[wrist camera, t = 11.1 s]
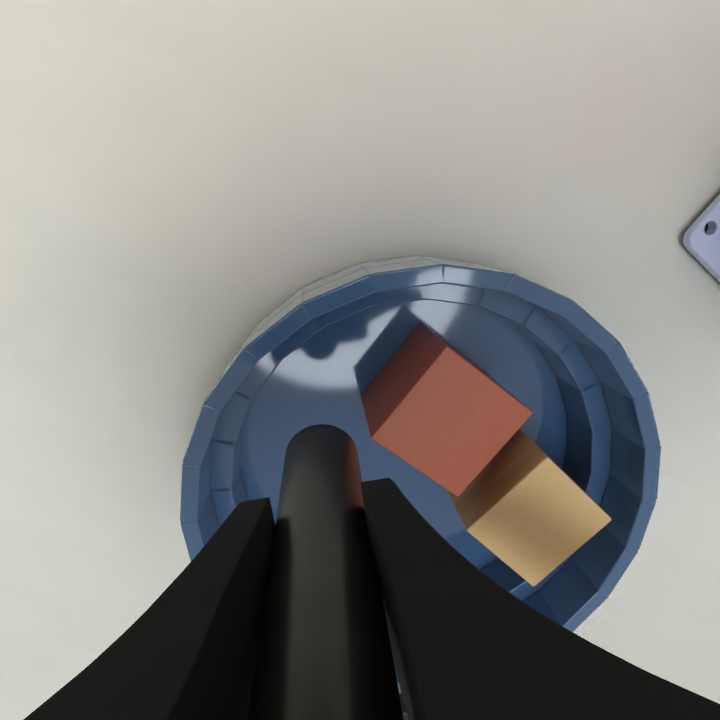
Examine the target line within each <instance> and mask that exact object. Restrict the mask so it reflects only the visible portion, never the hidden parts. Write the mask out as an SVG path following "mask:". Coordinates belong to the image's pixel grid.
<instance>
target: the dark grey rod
mask: <svg viewBox="0 0 720 720" xmlns="http://www.w3.org/2000/svg"><path fill="white" fill-rule="evenodd" d="M361 482H363V481H362V475H361V470H360V464H359V458H358V452H357V448H356V445H355V443H354V441H353V439H352V438H351V437H350V436H349V435H348V434H347V433H346V432H345V431H344V430H342V429H340V428H338V427H336V426H332V425H327V424H317V425H312V426H309V427H306V428H304V429H302V430H301V431H299V432H298V433H297V434H295V435H294V437H293V438H292V439H291V440H290V442H289V444H288V446H287V449H286V453H285V459H284V466H283V474H282V481H281V488H280V495H279V502H278V509H277V516H276V523H275V530H274V538H273V545H272V552H271V559H270V565H269V572H268V579H267V586H266V593H265V600H264V607H263V614H262V621H261V629H260V636H259V643H258V650H257V657H256V664H255V671H254V678H253V685H252V692H251V699H250V706H249V713H248V720H404V718H403V712H402V706H401V701H400V695H399V689H398V683H397V678H396V672H395V666H394V660H393V654H392V649H391V643H390V637H389V631H388V626H387V620H386V614H385V608H384V602H383V597H382V591H381V585H380V580H379V575H378V571H377V567H376V563H375V559H374V555H373V551H372V548H371V544H370V540H369V534H368V528H367V521H366V515H365V509H364V502H363V496H362V489H361Z"/></svg>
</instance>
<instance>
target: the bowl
mask: <svg viewBox="0 0 720 720" xmlns="http://www.w3.org/2000/svg"><path fill="white" fill-rule="evenodd" d="M420 322H422V323H424V324H425V325H426V326H428V327H429V328H430V329H431V330H433V331H434V332H435V333H437V334H438V335H439V336H440V337H442V338H443V339H444V340H446V341H447V342H448V343H449V344H451V345H452V346H453V347H454V348H456V349H457V350H458V351H460V352H461V353H462V354H463V355H465V356H466V357H467V358H469V359H470V360H471V361H472V362H474V363H475V364H476V365H477V366H479V367H480V368H481V369H483V370H484V371H485V372H486V373H488V374H489V375H490V376H492V377H493V378H494V379H495V380H496V381H497V382H498V383H500V384H501V385H502V386H503V387H504V388H505V389H506V390H508V391H509V392H510V393H511V394H512V395H513V396H515V397H516V398H517V399H518V400H519V401H520V402H521V403H523V404H524V405H525V406H526V407H527V408H528V409H530V410H531V411H532V415H531V416H530V417H529V418H528V419H527V420H526V421H525V423H524V424H523V425H522V426H521V427H520V429H521V430H522V431H523V432H524V433H525V434H526V435H527V436H528V437H529V438H531V439H532V440H533V441H534V442H535V443H536V444H537V445H538V446H539V447H540V448H541V449H542V450H543V451H544V452H545V453H546V454H547V455H548V456H549V457H550V458H551V459H552V460H553V461H554V462H555V463H556V464H557V465H558V466H559V467H560V468H561V469H562V470H563V471H564V472H565V473H566V474H567V475H568V476H569V477H570V478H571V479H572V480H573V481H574V482H575V483H576V484H577V485H578V486H579V487H580V488H581V489H582V490H583V491H584V492H585V493H586V494H587V495H588V496H589V497H590V498H591V499H592V500H594V501H595V502H596V503H597V504H598V505H599V506H600V507H601V508H602V509H603V510H604V511H605V512H606V513H607V514H608V515H609V516H610V517H611V521H610V522H609V523H608V524H607V525H605V526H604V527H603V528H602V529H601V530H600V531H598V532H597V533H596V534H595V535H594V536H593V537H591V538H590V539H589V540H588V541H587V542H586V543H584V544H583V545H582V546H581V547H580V548H579V549H577V550H576V551H575V552H574V553H573V554H572V555H570V556H569V557H568V558H567V559H566V560H565V561H563V562H562V563H561V564H560V565H559V566H558V567H556V568H555V569H554V570H553V571H552V572H551V573H549V574H548V575H547V576H546V577H545V578H544V579H542V580H541V581H540V582H539V583H538V584H537V585H535V586H532V585H531V584H529V583H528V582H527V581H526V580H525V579H523V578H522V577H521V576H520V575H519V574H517V573H516V572H515V571H514V570H513V569H511V568H510V567H509V566H508V565H507V564H506V563H504V562H503V561H502V560H501V559H500V558H498V557H497V556H496V555H495V554H494V553H492V552H491V551H490V550H489V549H488V548H486V547H485V546H484V545H483V544H482V543H480V542H479V541H478V540H477V539H476V538H475V537H473V536H472V535H471V534H470V533H469V532H467V530H466V528H465V526H464V524H463V522H462V520H461V518H460V516H459V514H458V512H457V510H456V508H455V506H454V504H453V502H452V500H451V498H450V496H449V494H448V492H447V490H446V489H445V488H444V487H442V486H441V485H439V484H438V483H436V482H435V481H433V480H432V479H430V478H429V477H428V476H426V475H425V474H423V473H422V472H420V471H419V470H417V469H416V468H414V467H413V466H411V465H410V464H408V463H407V462H405V461H404V460H402V459H401V458H399V457H398V456H396V455H395V454H394V453H392V452H391V451H389V450H388V449H386V448H385V447H383V446H382V445H380V444H379V443H377V442H376V441H374V440H373V439H371V436H370V432H369V428H368V424H367V420H366V416H365V412H364V408H363V404H362V401H361V397H360V396H361V395H362V393H363V392H364V391H365V390H366V388H367V387H368V386H369V385H370V383H371V382H372V381H373V380H374V378H375V377H376V376H377V375H378V374H379V372H380V371H381V370H382V369H383V367H384V366H385V365H386V364H387V362H388V361H389V360H390V359H391V357H392V356H393V355H394V354H395V352H396V351H397V350H398V349H399V347H400V346H401V345H402V344H403V342H404V341H405V340H406V339H407V337H408V336H409V335H410V334H411V333H412V331H413V330H414V329H415V328H416V326H417V325H418V324H419V323H420ZM317 424H327V425H332V426H336V427H338V428H340V429H342V430H344V431H345V432H346V433H347V434H348V435H349V436H350V437H351V438H352V439H353V441H354V443H355V445H356V448H357V452H358V458H359V464H360V470H361V475H362V481H363V482H364V481H371V480H377V479H383V478H390V479H392V480H393V481H394V482H395V483H396V485H397V486H398V487H399V489H400V490H401V492H402V493H403V494H404V495H405V497H406V498H407V499H408V500H409V502H410V503H411V504H412V505H413V506H414V507H415V509H416V510H417V511H418V512H419V513H420V514H421V515H422V516H423V517H424V518H425V519H426V521H427V522H428V523H429V524H430V525H431V526H432V527H433V528H434V529H435V530H436V531H437V532H438V533H439V534H440V535H441V536H442V537H443V538H444V539H445V540H446V541H448V542H449V543H450V544H451V545H452V546H453V547H454V548H455V549H456V550H457V551H458V552H460V553H461V554H462V555H463V556H464V557H465V558H466V559H468V560H469V561H470V562H471V563H472V564H473V565H475V566H476V567H477V568H478V569H479V570H481V571H482V572H483V573H484V574H486V575H487V576H488V577H490V578H491V579H492V580H494V581H495V582H496V583H498V584H499V585H500V586H502V587H503V588H504V589H506V590H507V591H508V592H510V593H511V594H513V595H514V596H515V597H517V598H518V599H520V600H521V601H523V602H524V603H526V604H527V605H529V606H530V607H532V608H533V609H535V610H536V611H538V612H540V613H541V614H543V615H545V616H546V617H548V618H550V619H551V620H553V621H555V622H556V623H558V624H560V625H561V626H563V627H564V628H566V629H568V630H569V631H571V632H573V631H574V630H575V629H576V628H577V627H578V626H579V625H580V624H581V623H582V622H583V621H584V620H585V619H586V618H587V617H588V616H590V615H591V614H592V613H593V612H594V611H595V610H596V609H597V608H598V607H599V606H600V605H601V604H602V603H603V602H604V601H605V600H606V599H607V598H608V597H609V596H608V595H610V594H611V592H612V591H613V589H614V588H615V586H616V585H617V583H618V582H619V580H620V579H621V577H622V575H623V574H624V572H625V571H626V569H627V568H628V566H629V565H630V563H631V562H632V560H633V559H634V557H635V556H636V554H637V553H638V550H639V549H640V546H641V543H642V540H643V537H644V534H645V532H646V529H647V526H648V523H649V520H650V517H651V515H652V512H653V509H654V506H655V503H656V499H657V493H658V479H659V466H660V452H661V446H660V440H659V436H658V431H657V427H656V422H655V418H654V413H653V409H652V404H651V400H650V395H649V393H648V390H647V388H646V386H645V385H644V383H643V381H642V379H641V378H640V376H639V374H638V373H637V371H636V369H635V367H634V366H633V364H632V362H631V361H630V359H629V357H628V356H627V354H626V352H625V350H624V349H623V347H622V345H621V344H620V343H619V341H618V340H617V339H616V338H615V337H614V336H613V335H612V334H610V333H609V332H608V331H607V330H606V329H605V328H604V327H603V326H601V325H600V324H599V323H598V322H597V321H596V320H595V319H594V318H593V317H591V316H590V315H589V314H588V313H587V312H586V311H585V310H584V309H582V308H581V307H580V306H579V305H578V304H577V303H576V302H574V301H573V300H571V299H569V298H567V297H565V296H563V295H560V294H558V293H556V292H554V291H551V290H549V289H547V288H545V287H543V286H540V285H538V284H536V283H534V282H531V281H529V280H527V279H525V278H523V277H520V276H518V275H516V274H513V273H509V272H505V271H501V270H497V269H493V268H489V267H485V266H481V265H477V264H473V263H467V262H460V261H453V260H445V259H438V258H431V257H424V256H410V257H402V258H395V259H388V260H380V261H373V262H365V263H360V264H356V265H354V266H352V267H349V268H347V269H344V270H342V271H340V272H337V273H335V274H333V275H330V276H328V277H326V278H323V279H321V280H318V281H316V282H314V283H311V284H309V285H307V286H306V287H303V288H302V289H301V290H299V291H298V292H297V293H295V294H294V295H293V296H292V297H290V298H289V299H288V300H287V301H285V302H284V303H283V304H281V305H280V306H279V307H278V308H276V309H275V310H274V311H273V312H271V313H270V314H269V315H267V316H266V317H265V318H264V319H262V320H261V321H260V323H258V324H257V326H256V327H255V328H254V330H253V331H252V333H251V334H250V335H249V337H248V338H247V339H246V341H245V342H244V343H243V345H242V346H241V348H240V349H239V350H238V352H237V353H236V354H235V356H234V357H233V359H232V360H231V361H230V363H229V364H228V365H227V367H226V369H225V370H224V372H223V373H222V375H221V376H220V378H219V380H218V381H217V383H216V384H215V386H214V387H213V389H212V391H211V392H210V394H209V395H208V397H207V398H206V400H205V402H204V404H203V406H202V409H201V411H200V414H199V417H198V420H197V423H196V426H195V428H194V431H193V434H192V437H191V440H190V442H189V445H188V448H187V451H186V454H185V456H184V459H183V464H182V484H181V510H180V521H181V527H182V531H183V534H184V538H185V542H186V545H187V549H188V552H189V556H190V559H191V561H192V560H193V559H194V558H195V556H196V555H197V554H198V553H199V552H200V551H201V549H202V548H203V547H204V546H205V545H206V543H207V542H208V541H209V540H210V538H211V537H212V536H213V535H214V533H215V532H216V531H217V530H218V529H219V527H220V526H221V525H222V524H223V522H224V521H225V520H226V519H227V517H228V516H229V515H230V514H231V512H232V511H233V510H234V509H235V507H236V506H237V505H238V504H239V503H240V502H243V501H249V500H255V499H261V498H267V497H269V498H270V503H271V507H272V512H273V517H274V521H275V523H276V516H277V509H278V502H279V495H280V488H281V481H282V474H283V466H284V459H285V453H286V449H287V446H288V444H289V442H290V440H291V439H292V438H293V437H294V435H295V434H297V433H298V432H299V431H301V430H302V429H304V428H306V427H309V426H312V425H317ZM395 672H396V669H395ZM396 678H397V683H398V689H399V694H402V693H401V689H400V685H399V681H398V677H397V673H396Z"/></svg>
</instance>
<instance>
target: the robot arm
mask: <svg viewBox="0 0 720 720" xmlns="http://www.w3.org/2000/svg"><path fill="white" fill-rule="evenodd" d="M707 223H708V225H709V228H708V230H707V232H706V233H705V231H704V227H705V225H706V224H707ZM683 244H684V246H685V248H686V249H687V250H688V251H689V252H690V253H691V254H692V255H693V256H694V257H695V258H696V259H697V260H698V261H699V262H700V263H701V264H702V265H703V266H704V267H705V268H706V269H707V270H708V271H709V272H710V273H711V274H712V275H713V276H714V277H715V278H716V279H717V280H718V281H719V282H720V194H719V195H718V196H717V197H716V198H715V199H714V201H713V202H712V203H711V204H710V205H709V206H708V207H707V208H706V209H705V211H704V212H703V213H702V214H701V215H700V216H699V217H698V218H697V220H696V221H695V222H694V223H693V224H692V225H691V226H690V227H689V229H688V230H687V231H686V233H685V234H684V237H683ZM361 489H362V496H363V502H364V509H365V515H366V521H367V528H368V534H369V540H370V544H371V548H372V551H373V555H374V559H375V563H376V567H377V571H378V575H379V580H380V585H381V591H382V597H383V602H384V608H385V614H386V620H387V626H388V631H389V637H390V643H391V649H392V654H393V660H394V666H395V669H396V673H397V677H398V681H399V685H400V689H401V693H402V696H403V700H404V704H405V708H406V712H407V716H408V720H720V704H718V703H716V702H713V701H711V700H709V699H707V698H705V697H702V696H700V695H698V694H696V693H693V692H691V691H689V690H687V689H684V688H682V687H680V686H678V685H675V684H673V683H671V682H669V681H666V680H664V679H662V678H660V677H658V676H655V675H653V674H651V673H649V672H647V671H645V670H643V669H640V668H638V667H636V666H634V665H633V664H631V663H629V662H627V661H625V660H623V659H621V658H619V657H617V656H615V655H613V654H611V653H609V652H607V651H606V650H604V649H602V648H600V647H598V646H596V645H594V644H592V643H590V642H589V641H587V640H585V639H583V638H581V637H580V636H578V635H576V634H574V633H573V632H571V631H569V630H568V629H566V628H564V627H563V626H561V625H560V624H558V623H556V622H555V621H553V620H551V619H550V618H548V617H546V616H545V615H543V614H541V613H540V612H538V611H536V610H535V609H533V608H532V607H530V606H529V605H527V604H526V603H524V602H523V601H521V600H520V599H518V598H517V597H515V596H514V595H513V594H511V593H510V592H508V591H507V590H506V589H504V588H503V587H502V586H500V585H499V584H498V583H496V582H495V581H494V580H492V579H491V578H490V577H488V576H487V575H486V574H484V573H483V572H482V571H481V570H479V569H478V568H477V567H476V566H475V565H473V564H472V563H471V562H470V561H469V560H468V559H466V558H465V557H464V556H463V555H462V554H461V553H460V552H458V551H457V550H456V549H455V548H454V547H453V546H452V545H451V544H450V543H449V542H448V541H446V540H445V539H444V538H443V537H442V536H441V535H440V534H439V533H438V532H437V531H436V530H435V529H434V528H433V527H432V526H431V525H430V524H429V523H428V522H427V521H426V519H425V518H424V517H423V516H422V515H421V514H420V513H419V512H418V511H417V510H416V509H415V507H414V506H413V505H412V504H411V503H410V502H409V500H408V499H407V498H406V497H405V495H404V494H403V493H402V492H401V490H400V489H399V487H398V486H397V485H396V483H395V482H394V481H393V480H392V479H390V478H383V479H377V480H371V481H364V482H361ZM274 530H275V521H274V517H273V512H272V507H271V503H270V498H269V497H267V498H261V499H255V500H249V501H243V502H240V503H239V504H238V505H237V506H236V507H235V509H234V510H233V511H232V512H231V514H230V515H229V516H228V517H227V519H226V520H225V521H224V522H223V524H222V525H221V526H220V527H219V529H218V530H217V531H216V532H215V533H214V535H213V536H212V537H211V538H210V540H209V541H208V542H207V543H206V545H205V546H204V547H203V548H202V549H201V551H200V552H199V553H198V554H197V555H196V556H195V558H194V559H193V560H192V561H191V562H190V564H189V565H188V566H187V567H186V568H185V569H184V571H183V572H182V573H181V574H180V575H179V576H178V577H177V578H176V579H175V580H174V581H173V583H172V584H171V585H170V586H169V587H168V588H167V589H166V590H165V591H164V592H163V593H162V594H161V596H160V597H159V598H158V599H157V600H156V601H155V602H154V603H153V604H152V605H151V606H150V608H149V609H148V610H147V611H146V612H145V613H144V614H143V615H142V616H141V617H140V618H139V619H138V620H137V621H136V622H135V623H134V624H133V625H132V626H131V627H130V628H129V629H128V630H127V631H126V632H125V633H123V634H122V635H121V636H120V637H119V638H118V639H117V640H116V641H115V642H114V643H113V644H112V645H111V646H109V647H108V648H107V649H106V650H105V651H104V652H103V653H102V654H101V655H100V656H99V657H98V658H97V659H95V660H94V661H93V662H92V663H91V664H90V665H89V666H88V667H86V668H85V669H84V670H83V671H82V672H81V673H79V674H78V675H77V676H76V677H75V678H73V679H72V680H71V681H70V682H69V683H67V684H66V685H65V686H64V687H63V688H61V689H60V690H59V691H58V692H56V693H55V694H54V695H53V696H52V697H50V698H49V699H48V700H47V701H46V702H44V703H43V704H42V705H41V706H40V707H38V708H37V709H36V710H35V711H34V712H32V713H31V714H30V715H29V716H27V717H26V718H25V719H24V720H248V713H249V706H250V699H251V692H252V685H253V678H254V671H255V664H256V657H257V650H258V643H259V636H260V629H261V621H262V614H263V607H264V600H265V593H266V586H267V579H268V572H269V565H270V559H271V552H272V545H273V538H274Z"/></svg>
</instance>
